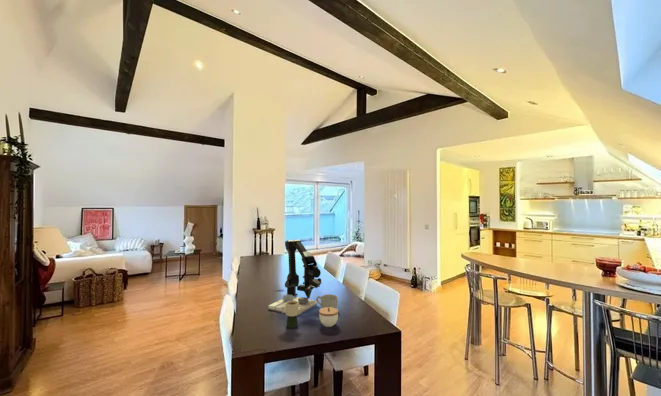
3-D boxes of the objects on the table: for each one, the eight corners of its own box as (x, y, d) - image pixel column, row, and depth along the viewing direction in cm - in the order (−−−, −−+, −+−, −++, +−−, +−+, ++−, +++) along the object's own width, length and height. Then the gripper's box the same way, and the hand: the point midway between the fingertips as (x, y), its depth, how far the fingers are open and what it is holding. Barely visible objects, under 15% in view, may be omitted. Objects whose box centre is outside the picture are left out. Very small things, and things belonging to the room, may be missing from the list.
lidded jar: (314, 325, 162) (314, 307, 162) (327, 319, 170) (327, 302, 170) (329, 330, 155) (329, 312, 155) (342, 324, 163) (342, 307, 163)
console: (289, 299, 204) (289, 295, 204) (316, 304, 194) (316, 300, 194) (268, 309, 185) (268, 305, 185) (297, 315, 174) (297, 311, 174)
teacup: (340, 308, 187) (340, 295, 187) (332, 314, 177) (332, 300, 178) (321, 304, 194) (321, 292, 194) (313, 310, 184) (313, 297, 184)
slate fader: (286, 301, 197) (286, 294, 197) (292, 302, 195) (292, 295, 195) (283, 302, 194) (283, 295, 194) (289, 304, 191) (289, 296, 191)
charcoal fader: (301, 304, 192) (301, 296, 192) (308, 305, 189) (308, 298, 189) (298, 305, 188) (298, 298, 188) (304, 307, 186) (304, 299, 186)
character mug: (300, 323, 164) (300, 299, 164) (303, 328, 157) (303, 303, 157) (281, 325, 161) (281, 301, 161) (282, 330, 154) (282, 305, 154)
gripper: (311, 279, 182) (311, 304, 182) (326, 273, 199) (325, 296, 199) (296, 277, 188) (296, 301, 187) (311, 271, 204) (311, 293, 204)
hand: (308, 298), depth 194 cm, fingers closed
